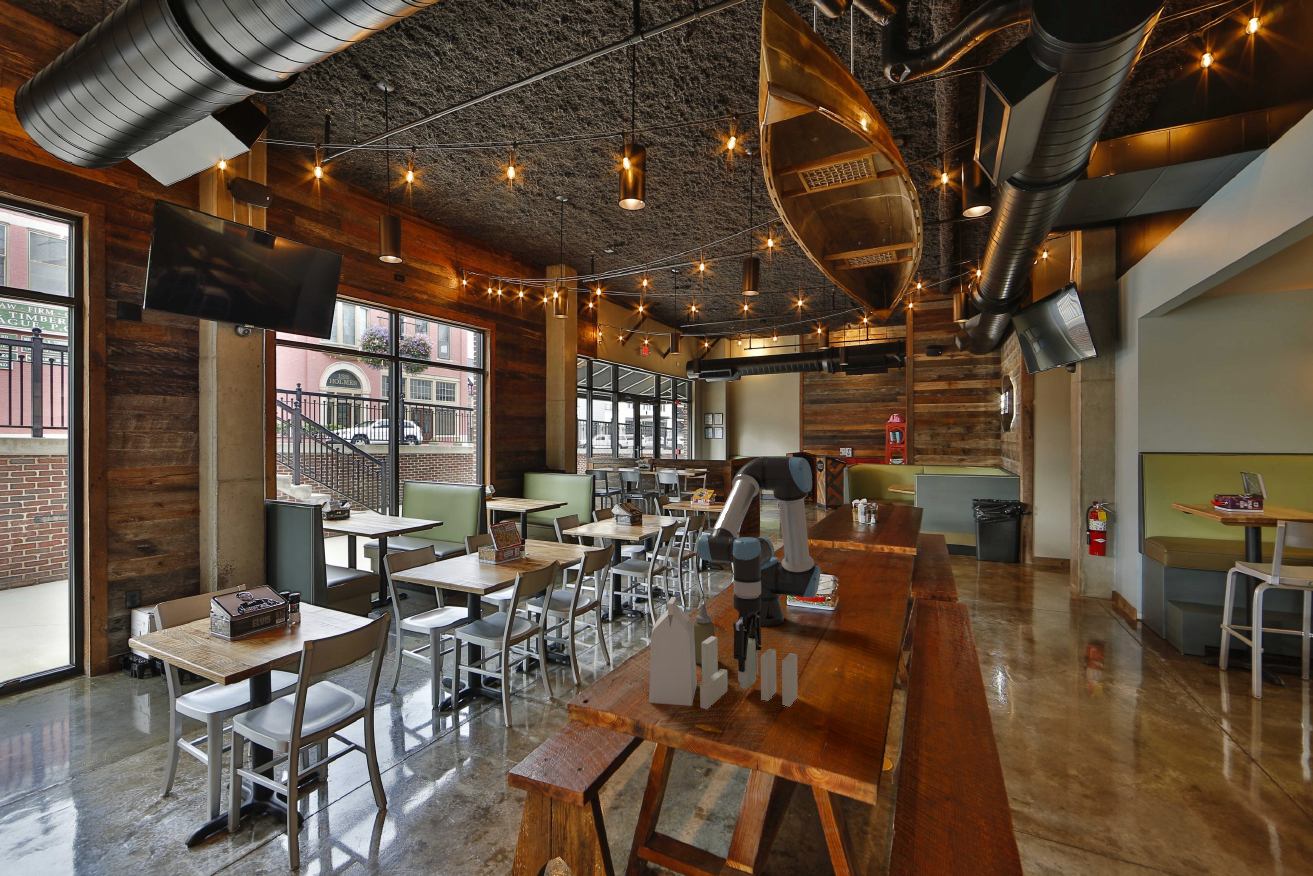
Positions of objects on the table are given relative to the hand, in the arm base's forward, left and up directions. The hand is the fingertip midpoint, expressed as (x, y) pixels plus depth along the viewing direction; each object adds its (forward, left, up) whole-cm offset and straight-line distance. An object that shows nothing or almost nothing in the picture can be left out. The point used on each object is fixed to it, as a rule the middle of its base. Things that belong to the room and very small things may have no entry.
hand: (748, 677), depth 159 cm
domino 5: (0, +12, -4) cm, 13 cm away
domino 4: (0, +6, -4) cm, 7 cm away
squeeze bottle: (-11, -20, -4) cm, 23 cm away
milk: (+12, -17, -4) cm, 21 cm away
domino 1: (0, -12, -4) cm, 13 cm away
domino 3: (0, 0, -2) cm, 2 cm away
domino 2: (+3, -6, -1) cm, 7 cm away
